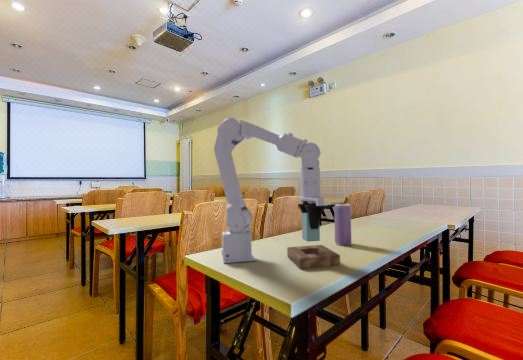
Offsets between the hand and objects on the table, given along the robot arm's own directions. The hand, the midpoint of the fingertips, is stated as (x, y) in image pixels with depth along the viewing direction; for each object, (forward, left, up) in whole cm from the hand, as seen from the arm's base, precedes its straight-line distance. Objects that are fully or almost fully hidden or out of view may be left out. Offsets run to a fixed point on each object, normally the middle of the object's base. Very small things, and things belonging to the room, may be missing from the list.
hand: (311, 227), depth 78 cm
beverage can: (+19, +16, -10) cm, 27 cm away
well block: (0, 0, -10) cm, 10 cm away
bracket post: (0, 0, -4) cm, 4 cm away
